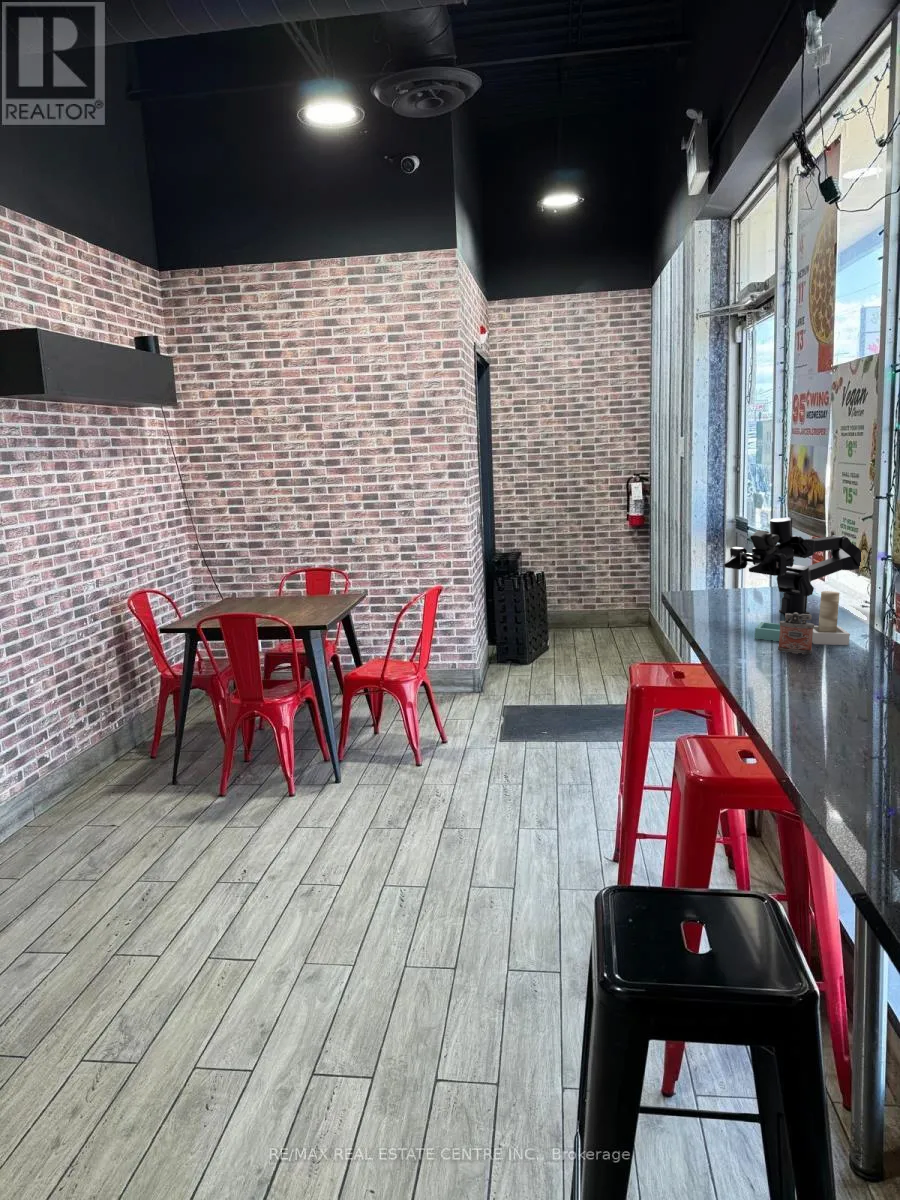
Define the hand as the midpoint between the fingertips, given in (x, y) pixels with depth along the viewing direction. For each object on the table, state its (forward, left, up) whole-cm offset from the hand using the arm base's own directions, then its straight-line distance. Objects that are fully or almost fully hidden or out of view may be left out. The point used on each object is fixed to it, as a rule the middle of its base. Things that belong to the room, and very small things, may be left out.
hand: (736, 567), depth 238 cm
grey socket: (-12, +25, -16) cm, 32 cm away
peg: (-12, +25, -16) cm, 32 cm away
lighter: (+3, +32, -17) cm, 36 cm away
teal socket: (-1, +18, -16) cm, 24 cm away
